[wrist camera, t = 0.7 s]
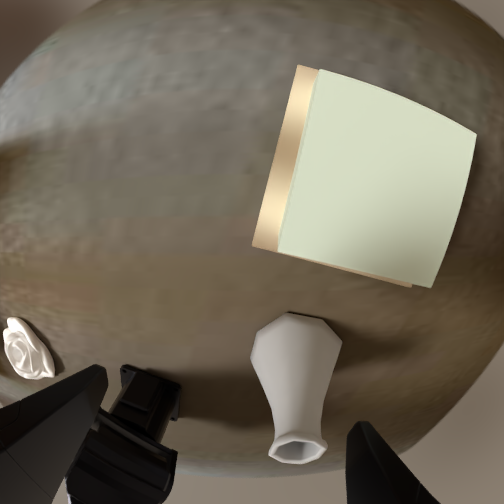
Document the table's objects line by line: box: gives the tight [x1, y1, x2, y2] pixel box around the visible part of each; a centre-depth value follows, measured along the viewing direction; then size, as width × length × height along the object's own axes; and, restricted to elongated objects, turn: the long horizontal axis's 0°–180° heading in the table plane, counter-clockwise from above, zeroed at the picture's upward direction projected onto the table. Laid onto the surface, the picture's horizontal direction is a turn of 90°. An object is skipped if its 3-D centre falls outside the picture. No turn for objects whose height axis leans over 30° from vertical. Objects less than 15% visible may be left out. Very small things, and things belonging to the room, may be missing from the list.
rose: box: [3, 317, 55, 379], centre depth 26 cm, size 10×4×10 cm
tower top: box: [278, 69, 477, 288], centre depth 14 cm, size 9×9×3 cm
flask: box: [250, 313, 342, 464], centre depth 18 cm, size 7×7×10 cm
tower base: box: [252, 65, 412, 288], centre depth 17 cm, size 11×11×3 cm
